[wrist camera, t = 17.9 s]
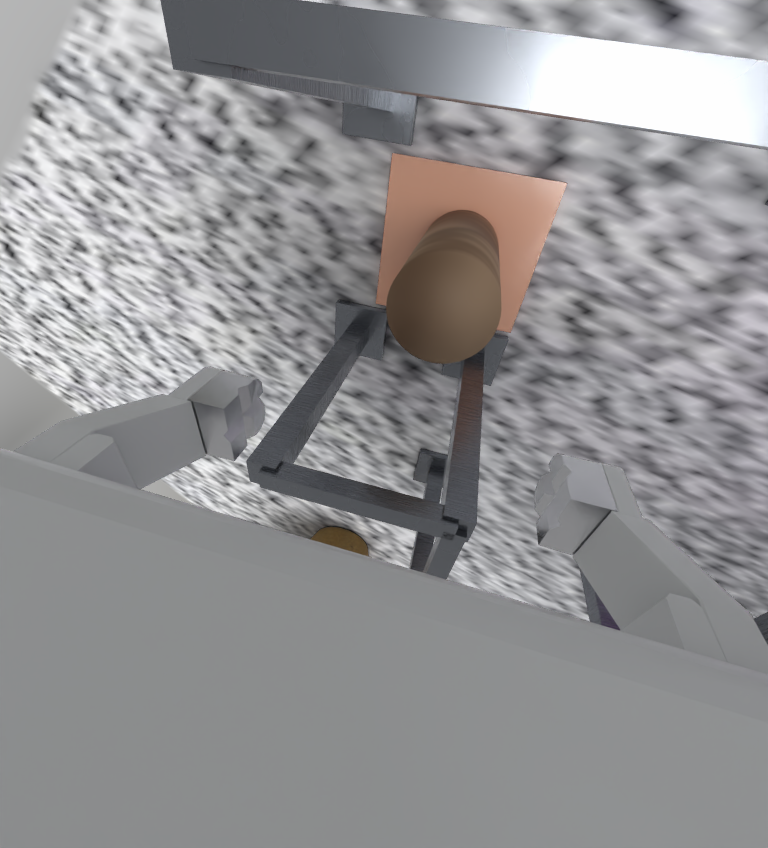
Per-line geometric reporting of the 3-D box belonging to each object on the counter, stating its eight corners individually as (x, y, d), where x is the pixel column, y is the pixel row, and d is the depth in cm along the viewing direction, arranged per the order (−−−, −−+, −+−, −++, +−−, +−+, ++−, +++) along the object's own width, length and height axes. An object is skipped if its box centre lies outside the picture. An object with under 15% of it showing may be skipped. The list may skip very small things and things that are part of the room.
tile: (510, 330, 26) (510, 332, 26) (377, 301, 27) (375, 303, 27) (566, 182, 20) (567, 183, 20) (393, 153, 21) (392, 153, 21)
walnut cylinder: (510, 217, 21) (519, 264, 14) (484, 299, 25) (481, 373, 17) (428, 203, 22) (394, 240, 14) (414, 285, 25) (380, 350, 18)
